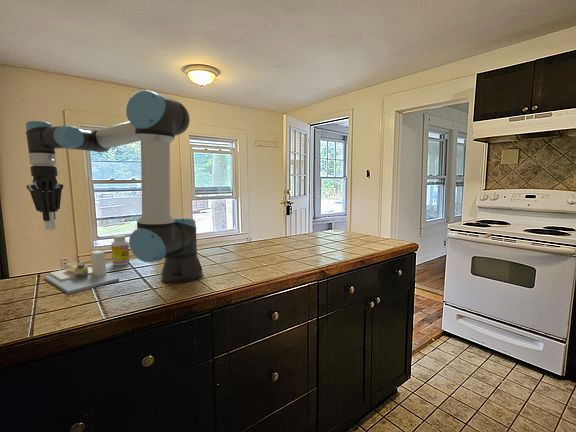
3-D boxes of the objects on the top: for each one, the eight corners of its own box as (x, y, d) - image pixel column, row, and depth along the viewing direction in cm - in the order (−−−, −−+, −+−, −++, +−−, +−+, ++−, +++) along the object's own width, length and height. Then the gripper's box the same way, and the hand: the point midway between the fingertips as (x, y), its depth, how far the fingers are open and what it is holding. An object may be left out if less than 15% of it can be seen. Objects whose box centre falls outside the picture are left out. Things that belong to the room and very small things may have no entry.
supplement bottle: (122, 266, 131) (120, 237, 129) (109, 265, 132) (106, 237, 130) (133, 262, 137) (131, 234, 136) (120, 261, 139) (118, 234, 137)
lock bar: (90, 274, 113) (89, 267, 113) (77, 277, 110) (77, 270, 110) (75, 268, 121) (74, 261, 121) (63, 270, 118) (62, 264, 118)
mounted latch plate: (119, 280, 112) (117, 254, 111) (68, 294, 99) (65, 264, 98) (90, 268, 128) (88, 245, 127) (44, 278, 115) (41, 253, 114)
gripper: (36, 164, 102) (43, 232, 105) (67, 166, 115) (73, 226, 118) (16, 165, 103) (24, 232, 106) (50, 166, 116) (56, 226, 119)
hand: (50, 229), depth 112 cm, fingers closed
